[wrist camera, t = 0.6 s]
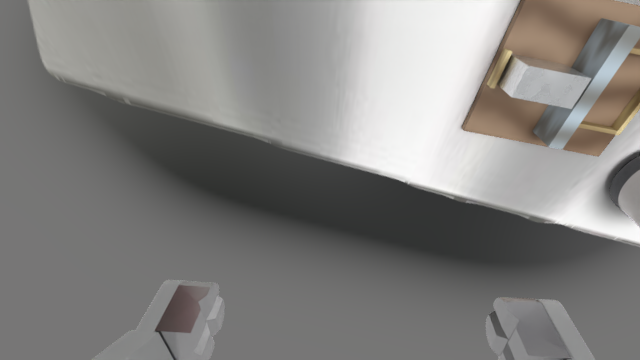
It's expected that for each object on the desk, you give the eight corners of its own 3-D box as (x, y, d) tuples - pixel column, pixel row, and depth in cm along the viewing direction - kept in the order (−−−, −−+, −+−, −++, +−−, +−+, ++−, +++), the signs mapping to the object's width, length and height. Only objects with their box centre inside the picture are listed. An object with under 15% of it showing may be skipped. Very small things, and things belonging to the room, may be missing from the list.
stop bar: (508, 53, 44) (527, 65, 39) (565, 64, 44) (591, 78, 39) (494, 81, 46) (511, 97, 41) (548, 92, 46) (571, 109, 42)
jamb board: (529, -17, 40) (554, -13, 35) (697, 17, 41) (746, 27, 36) (461, 127, 52) (473, 145, 47) (594, 152, 52) (619, 174, 47)
